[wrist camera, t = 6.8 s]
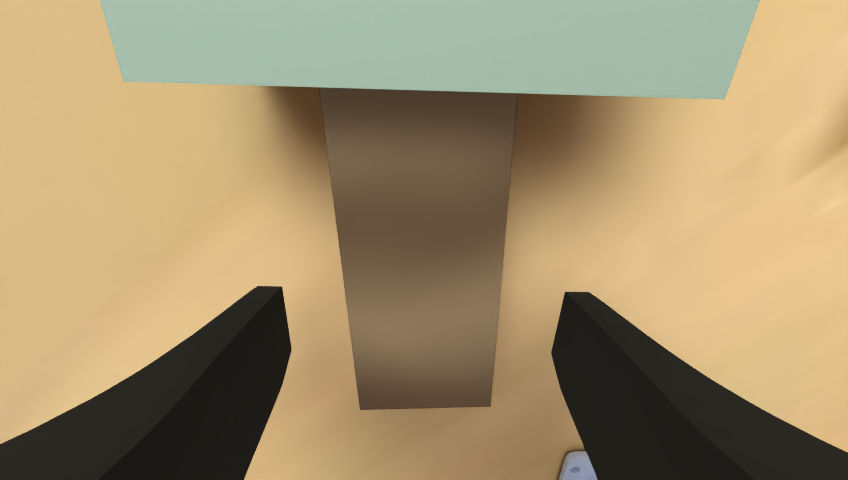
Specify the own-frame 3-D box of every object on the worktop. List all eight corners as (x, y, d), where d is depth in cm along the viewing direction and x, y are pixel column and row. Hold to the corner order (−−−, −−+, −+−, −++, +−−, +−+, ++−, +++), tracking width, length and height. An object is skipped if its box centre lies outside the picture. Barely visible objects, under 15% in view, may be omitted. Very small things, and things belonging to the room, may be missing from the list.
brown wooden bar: (474, 324, 18) (490, 406, 14) (371, 326, 18) (360, 410, 14) (495, -70, 12) (535, -113, 8) (334, -67, 12) (294, -109, 8)
